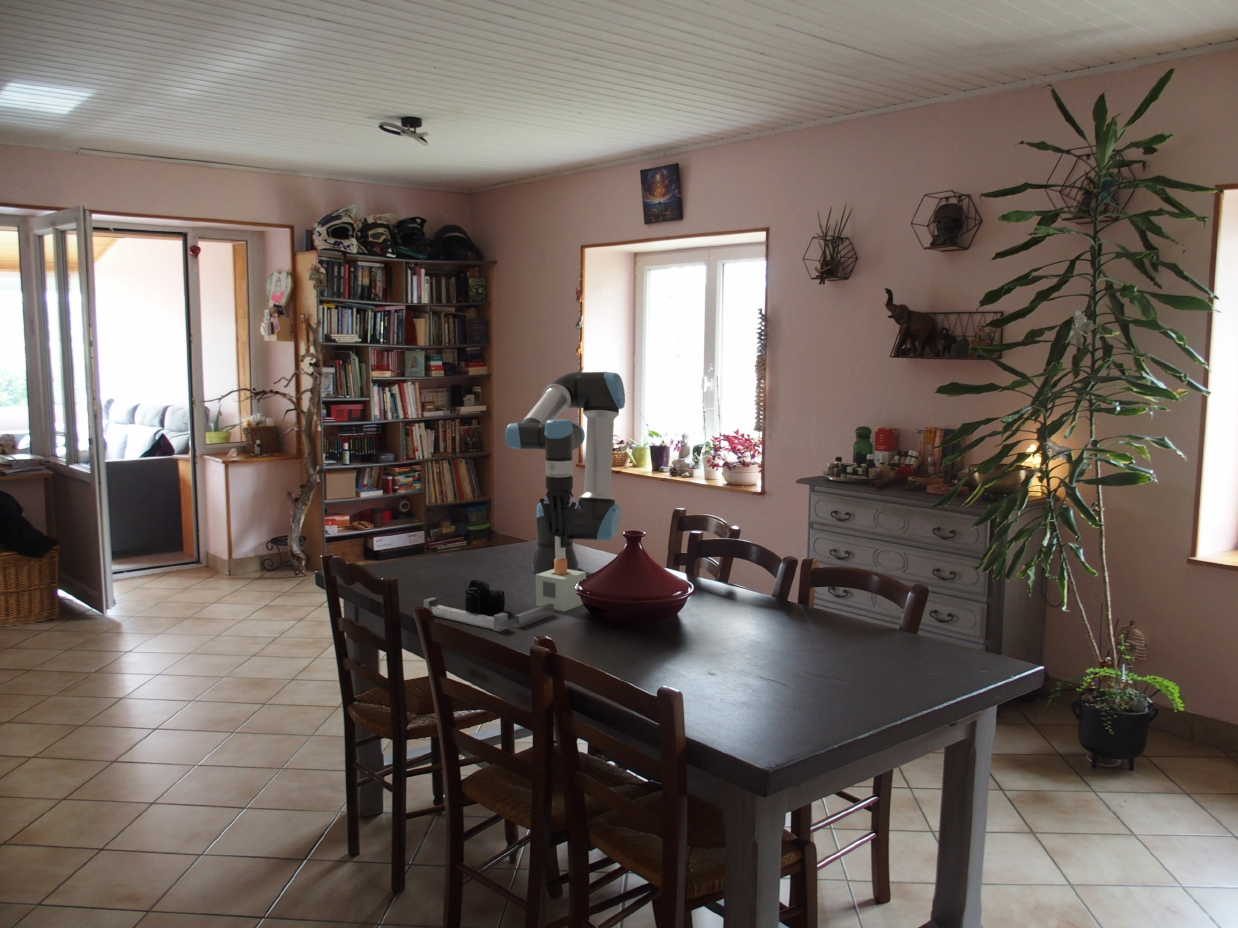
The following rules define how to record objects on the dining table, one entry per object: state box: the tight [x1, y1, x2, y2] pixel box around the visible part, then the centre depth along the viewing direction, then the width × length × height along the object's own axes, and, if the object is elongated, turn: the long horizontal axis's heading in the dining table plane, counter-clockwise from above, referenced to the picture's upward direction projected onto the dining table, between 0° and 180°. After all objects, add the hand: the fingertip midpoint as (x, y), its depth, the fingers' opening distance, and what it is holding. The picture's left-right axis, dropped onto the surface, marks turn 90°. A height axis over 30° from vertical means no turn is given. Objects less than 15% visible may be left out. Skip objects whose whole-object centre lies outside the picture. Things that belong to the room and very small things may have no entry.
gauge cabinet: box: [535, 569, 587, 612], centre depth 266 cm, size 10×10×9 cm
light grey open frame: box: [423, 597, 555, 633], centre depth 257 cm, size 20×30×4 cm, turn 54°
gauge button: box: [554, 558, 567, 576], centre depth 265 cm, size 4×4×6 cm
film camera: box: [464, 579, 506, 615], centre depth 259 cm, size 15×10×9 cm, turn 177°
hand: (560, 558), depth 265 cm, fingers closed
